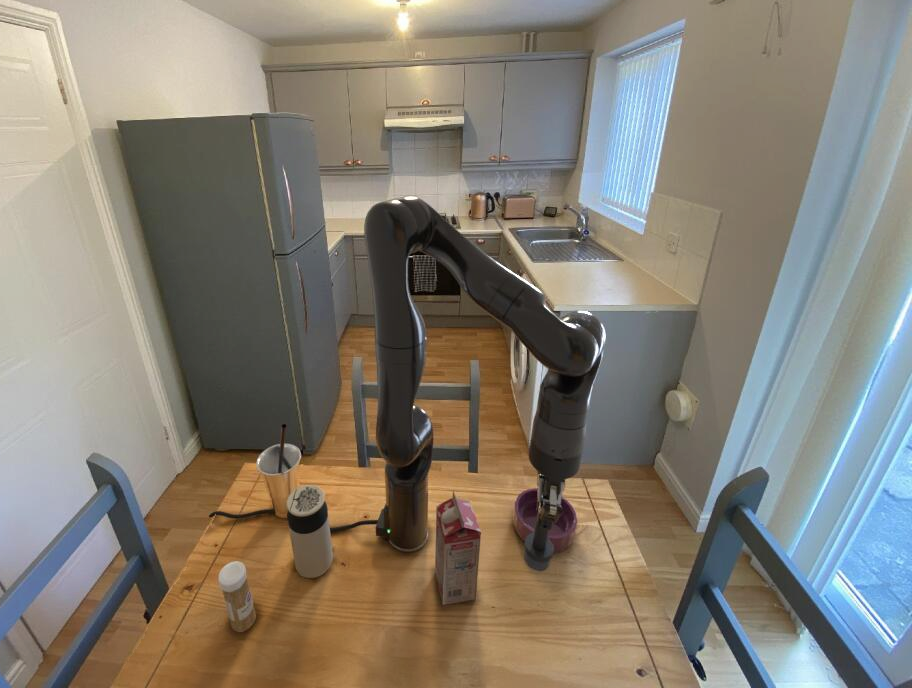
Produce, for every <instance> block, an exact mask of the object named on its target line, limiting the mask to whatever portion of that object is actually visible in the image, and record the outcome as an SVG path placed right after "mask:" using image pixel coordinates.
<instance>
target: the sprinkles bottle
mask: <svg viewBox="0 0 912 688" xmlns="http://www.w3.org/2000/svg"><path fill="white" fill-rule="evenodd" d="M247 575H248V573H247V568H246V566H245V564H244V563H243V562H241V561H238V560H235V561H231V562H228V563H227V564H225V565H224V566H223V567H222V568H221V570H220V571H219V573H218V576H217V577H218V578H217V579H218V584H219V587H220V589H221V591H222V595H223V601H224V603H225V607H226V610H227V614H228V617H229V619H230V625H231V628H232V630H233V631H235V632H236V633H243V632H245V631H248V630H249V629H250V628H251V627H252V626H253V624H254V623H255V621H256V618H257V613H256V610H255V607H254V600H253V597H252V593H251V590H250V586H249V581H248V577H247Z"/></svg>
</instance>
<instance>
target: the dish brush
mask: <svg viewBox="0 0 912 688" xmlns="http://www.w3.org/2000/svg"><path fill="white" fill-rule="evenodd" d="M539 504H540V502H539ZM538 513H539V510H538ZM538 513H537V519H538ZM537 519H536V525H535V531H534V533H531V534H529V535H528V536H527V537H526V539H525V541H524V544H523V548H524V552H523V559H524V562H525V563H526V565H527V566H528V568H530V569H532V570H533V571H536V572H544V571H547V570H548V569H549V567H550V565H551V560H552V558H553V557H554V553H553V551H554V548H553V544H552V542H551V541H550V540H549V539H548V532H549V530H546V529H541V528H538V527H537Z"/></svg>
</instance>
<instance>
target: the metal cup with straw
mask: <svg viewBox="0 0 912 688" xmlns="http://www.w3.org/2000/svg"><path fill="white" fill-rule="evenodd" d="M286 432H287V424H286V423H283V424H281V431H280V442H279V443H278V444H274V445H272V446H269V447H268V448H266V449H264V450H263V451H262V452H261V453H260V454H259V456H258V457H257V460H256V468H257V470H258V472H260V474H261V477H262V480H263V484H264V486H265V488H266V492H267V495H268V497H269V501H270V503H271V507H272V509H273V510H274V511H275V513H276V514H274V515H275V516H277V517H278V518H283V519H284V518H285V519H286V518H287V512H288V509H287V505H286V502H287V499H288V497H289V495H290V494H291V493H292V492H293V491H294V490H295V489H297V488H299V487H301V486H300V485H301V470H300V469H301V467H300V466H301V465H300V462H301V459H302V453H301V450H300V449H299V447H298V446H296V445H294V444H291V443H286V442H285V441H286V434H287V433H286Z"/></svg>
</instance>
